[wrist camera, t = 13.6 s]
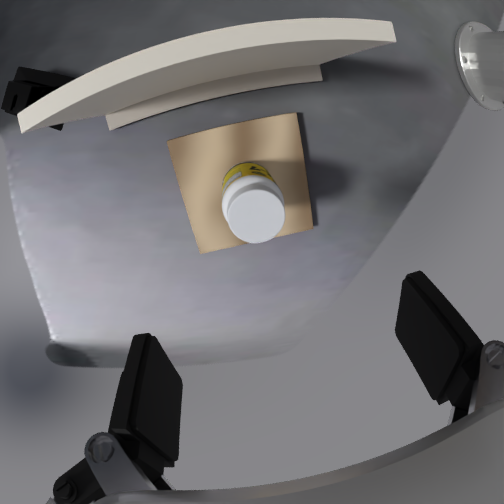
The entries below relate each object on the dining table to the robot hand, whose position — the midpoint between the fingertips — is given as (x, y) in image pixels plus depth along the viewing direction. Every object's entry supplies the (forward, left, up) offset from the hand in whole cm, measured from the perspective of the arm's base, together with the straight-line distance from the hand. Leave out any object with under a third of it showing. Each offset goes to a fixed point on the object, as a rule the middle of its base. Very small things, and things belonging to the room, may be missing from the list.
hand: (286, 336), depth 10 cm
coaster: (0, 0, -20) cm, 20 cm away
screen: (+1, -11, -20) cm, 23 cm away
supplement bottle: (0, 0, -20) cm, 20 cm away
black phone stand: (+19, -16, -21) cm, 32 cm away
